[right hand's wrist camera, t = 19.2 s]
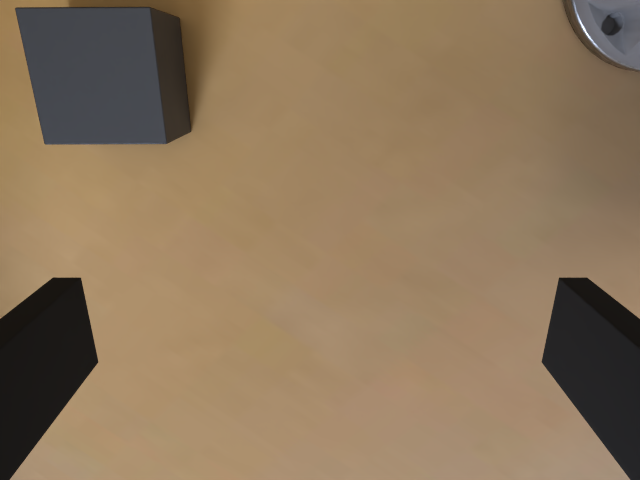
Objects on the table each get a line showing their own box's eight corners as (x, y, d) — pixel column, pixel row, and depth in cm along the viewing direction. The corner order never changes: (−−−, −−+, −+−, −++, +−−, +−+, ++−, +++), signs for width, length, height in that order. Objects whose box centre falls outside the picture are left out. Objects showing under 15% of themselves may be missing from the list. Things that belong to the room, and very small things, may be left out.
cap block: (67, 17, 32) (14, 7, 27) (179, 17, 32) (150, 6, 27) (88, 132, 35) (44, 144, 29) (191, 131, 35) (166, 144, 29)
